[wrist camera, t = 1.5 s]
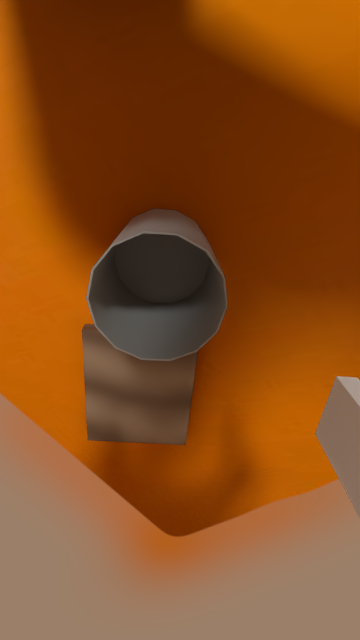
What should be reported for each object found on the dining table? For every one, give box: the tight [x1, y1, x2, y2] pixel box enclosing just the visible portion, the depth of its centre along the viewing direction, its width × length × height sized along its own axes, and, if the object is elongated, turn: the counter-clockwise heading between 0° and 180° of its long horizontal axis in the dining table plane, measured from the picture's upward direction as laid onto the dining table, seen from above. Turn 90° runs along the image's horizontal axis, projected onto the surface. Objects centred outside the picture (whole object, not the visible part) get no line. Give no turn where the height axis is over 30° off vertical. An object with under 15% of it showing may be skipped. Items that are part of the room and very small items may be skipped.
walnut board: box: [82, 324, 198, 445], centre depth 33 cm, size 14×11×1 cm
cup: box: [86, 209, 228, 361], centre depth 23 cm, size 8×8×10 cm
